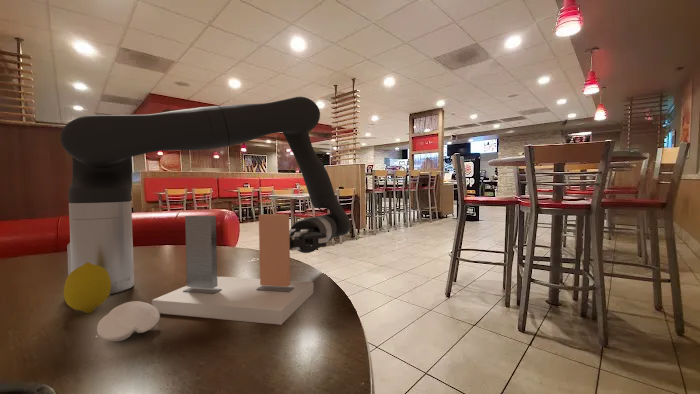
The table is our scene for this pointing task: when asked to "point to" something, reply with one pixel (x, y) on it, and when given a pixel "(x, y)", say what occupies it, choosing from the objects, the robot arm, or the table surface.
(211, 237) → the grey paddle
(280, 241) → the terracotta paddle
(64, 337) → the table surface
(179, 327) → the table surface
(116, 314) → the dumpling
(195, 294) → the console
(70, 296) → the lemon
